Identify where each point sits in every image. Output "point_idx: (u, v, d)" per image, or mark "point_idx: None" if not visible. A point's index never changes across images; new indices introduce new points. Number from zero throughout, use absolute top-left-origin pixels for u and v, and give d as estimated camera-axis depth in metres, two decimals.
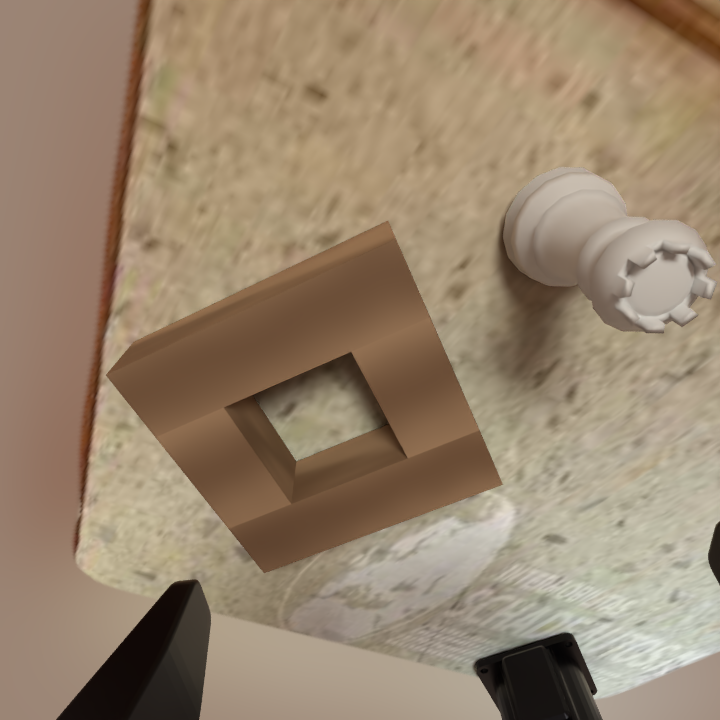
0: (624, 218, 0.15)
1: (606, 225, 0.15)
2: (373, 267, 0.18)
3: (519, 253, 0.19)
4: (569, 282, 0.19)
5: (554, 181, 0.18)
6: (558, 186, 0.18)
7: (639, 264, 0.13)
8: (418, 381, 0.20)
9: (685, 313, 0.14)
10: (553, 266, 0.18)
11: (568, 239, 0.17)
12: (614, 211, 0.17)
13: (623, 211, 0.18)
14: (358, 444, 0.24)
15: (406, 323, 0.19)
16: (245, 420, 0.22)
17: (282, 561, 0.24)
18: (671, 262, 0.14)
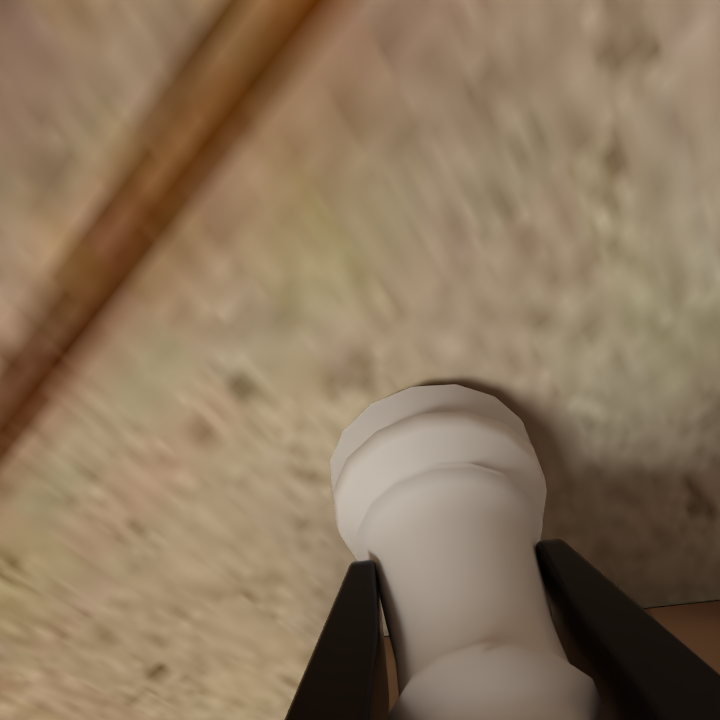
0: None
1: None
2: None
3: None
4: None
5: (337, 522, 0.10)
6: (345, 532, 0.10)
7: None
8: None
9: None
10: None
11: None
12: (398, 591, 0.08)
13: (427, 480, 0.09)
14: None
15: None
16: None
17: None
18: None
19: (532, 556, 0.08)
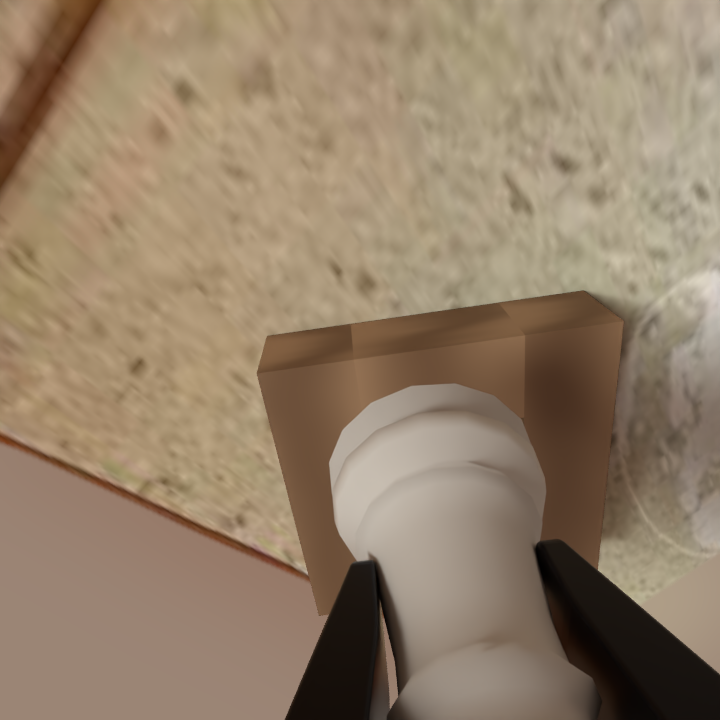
0: None
1: None
2: (281, 399, 0.17)
3: None
4: None
5: (336, 522, 0.10)
6: (344, 531, 0.10)
7: None
8: None
9: None
10: None
11: None
12: (397, 591, 0.08)
13: (426, 480, 0.09)
14: None
15: (352, 383, 0.17)
16: None
17: (591, 560, 0.22)
18: None
19: (532, 555, 0.08)
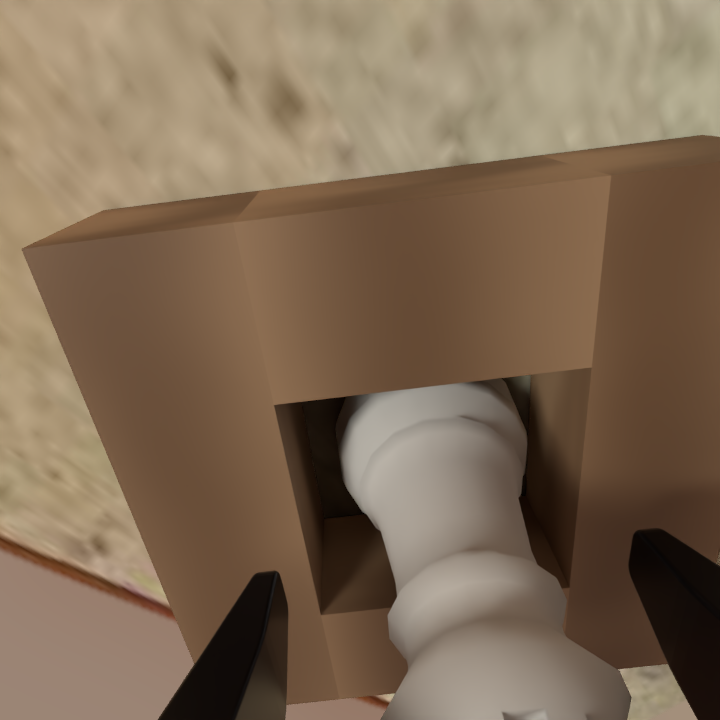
0: (390, 619, 0.08)
1: (392, 639, 0.08)
2: (85, 311, 0.08)
3: None
4: None
5: (343, 476, 0.12)
6: (350, 484, 0.11)
7: None
8: (396, 291, 0.08)
9: None
10: None
11: None
12: (396, 522, 0.09)
13: (419, 431, 0.10)
14: (539, 404, 0.12)
15: (235, 279, 0.08)
16: (377, 574, 0.12)
17: None
18: None
19: (511, 491, 0.09)
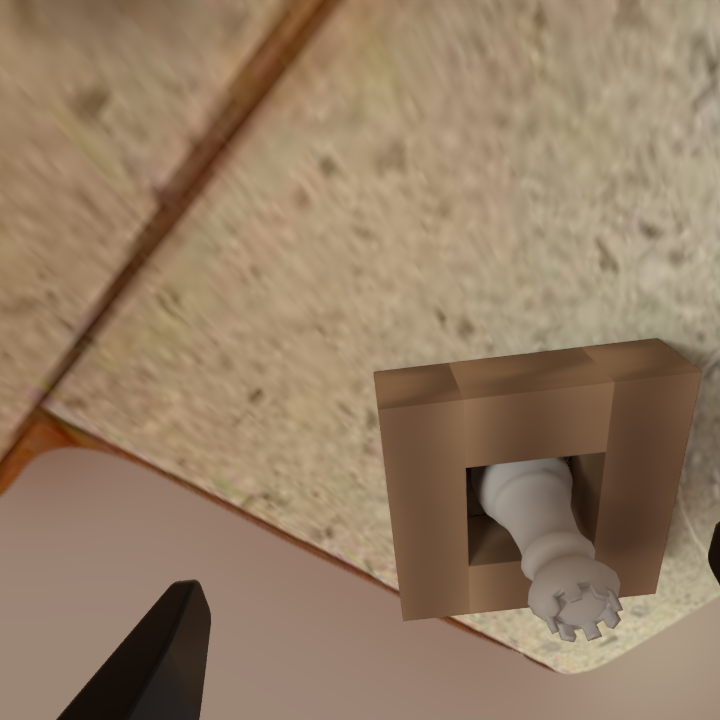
0: (522, 559, 0.20)
1: (522, 568, 0.20)
2: (396, 431, 0.20)
3: None
4: None
5: (479, 497, 0.23)
6: (484, 501, 0.23)
7: (554, 632, 0.18)
8: (524, 423, 0.20)
9: (612, 607, 0.17)
10: None
11: None
12: (518, 519, 0.21)
13: (524, 477, 0.22)
14: (577, 459, 0.24)
15: (460, 419, 0.20)
16: (493, 546, 0.24)
17: (652, 577, 0.24)
18: (565, 605, 0.18)
19: (568, 505, 0.21)
